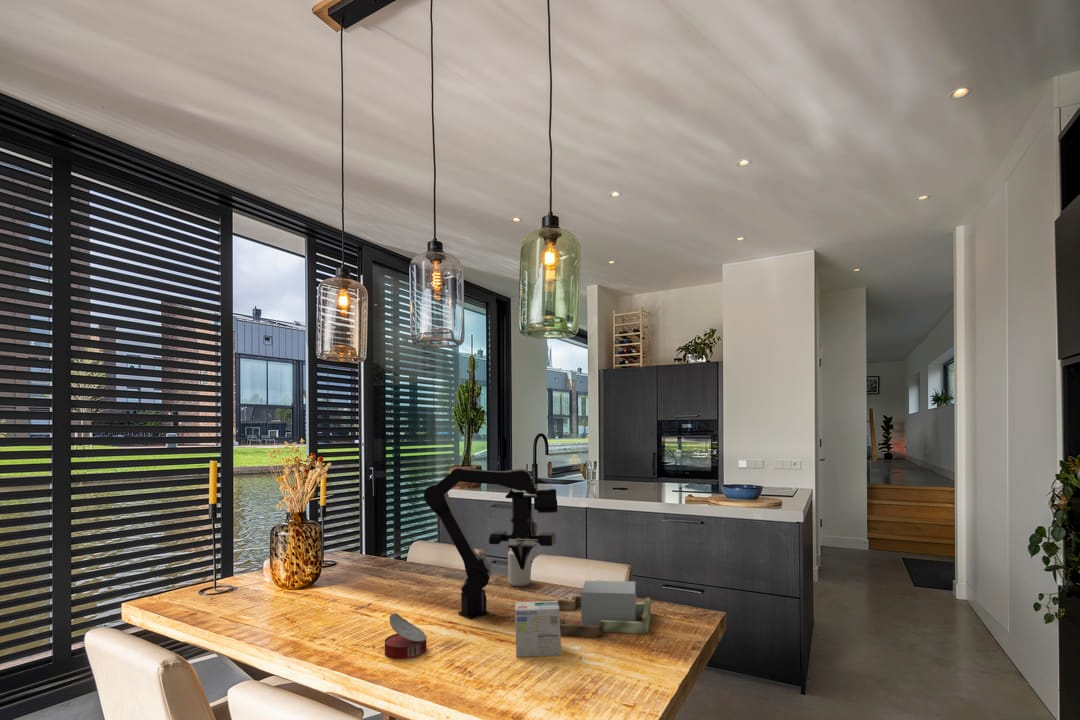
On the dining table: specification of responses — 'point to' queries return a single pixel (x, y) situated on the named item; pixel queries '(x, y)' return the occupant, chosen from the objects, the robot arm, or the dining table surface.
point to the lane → (603, 621)
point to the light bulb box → (537, 629)
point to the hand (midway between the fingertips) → (522, 569)
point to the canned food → (404, 640)
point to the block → (608, 601)
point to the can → (518, 571)
